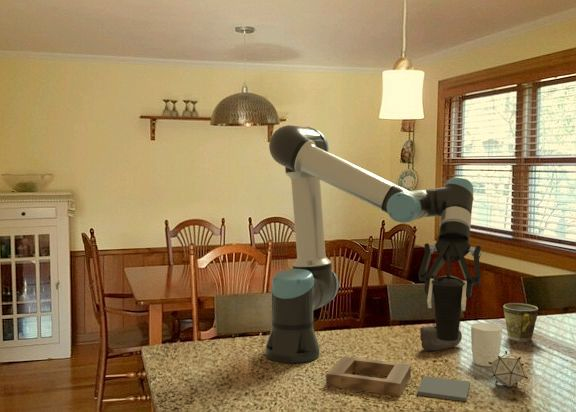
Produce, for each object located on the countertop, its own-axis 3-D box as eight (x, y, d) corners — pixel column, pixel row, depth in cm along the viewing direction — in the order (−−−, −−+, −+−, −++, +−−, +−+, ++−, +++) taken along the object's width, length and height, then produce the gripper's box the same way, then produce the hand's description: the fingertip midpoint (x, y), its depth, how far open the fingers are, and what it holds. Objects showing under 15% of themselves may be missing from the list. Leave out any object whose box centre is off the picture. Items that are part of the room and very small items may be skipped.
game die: (502, 398, 148) (498, 358, 154) (535, 393, 143) (530, 353, 148) (484, 387, 143) (480, 347, 149) (518, 383, 138) (513, 341, 143)
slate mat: (417, 394, 141) (417, 391, 141) (424, 378, 151) (424, 375, 151) (466, 401, 137) (466, 398, 137) (470, 384, 147) (470, 381, 147)
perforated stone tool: (456, 343, 180) (456, 321, 180) (467, 348, 176) (467, 325, 175) (413, 349, 175) (413, 326, 174) (424, 354, 170) (424, 330, 169)
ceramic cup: (498, 333, 191) (499, 302, 190) (530, 334, 190) (531, 303, 190) (511, 346, 178) (512, 313, 177) (546, 346, 177) (547, 313, 177)
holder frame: (326, 385, 146) (326, 373, 146) (342, 367, 159) (342, 356, 159) (400, 396, 140) (400, 383, 139) (410, 376, 153) (410, 364, 152)
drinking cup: (441, 344, 138) (442, 257, 136) (424, 334, 145) (426, 252, 144) (470, 341, 140) (472, 256, 138) (453, 332, 147) (454, 251, 146)
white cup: (502, 368, 158) (503, 331, 158) (471, 366, 160) (472, 329, 159) (498, 359, 166) (499, 323, 165) (468, 357, 168) (469, 322, 167)
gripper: (496, 239, 152) (491, 318, 138) (416, 236, 159) (405, 311, 145) (495, 220, 146) (491, 300, 132) (413, 218, 154) (401, 294, 140)
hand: (446, 306), depth 139 cm, fingers closed on drinking cup, 7 cm apart
